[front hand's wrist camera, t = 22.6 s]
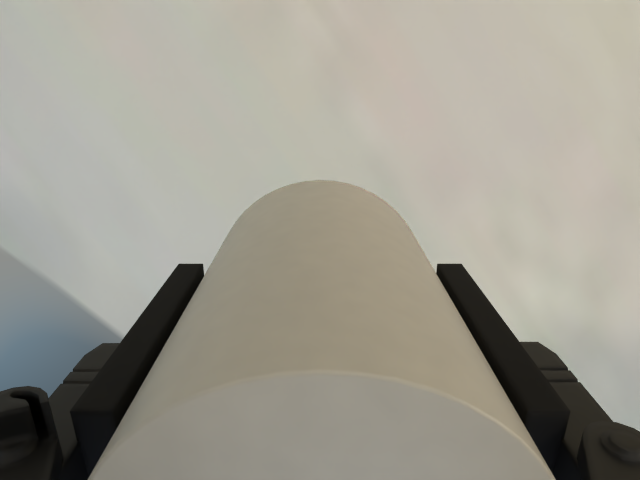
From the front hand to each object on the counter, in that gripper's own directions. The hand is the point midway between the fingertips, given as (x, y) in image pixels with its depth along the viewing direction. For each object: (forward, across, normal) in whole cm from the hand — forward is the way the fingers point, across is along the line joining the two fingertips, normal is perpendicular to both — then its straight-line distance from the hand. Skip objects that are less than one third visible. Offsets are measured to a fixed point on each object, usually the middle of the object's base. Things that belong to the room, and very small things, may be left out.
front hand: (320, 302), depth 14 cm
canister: (+2, 0, 0) cm, 2 cm away
